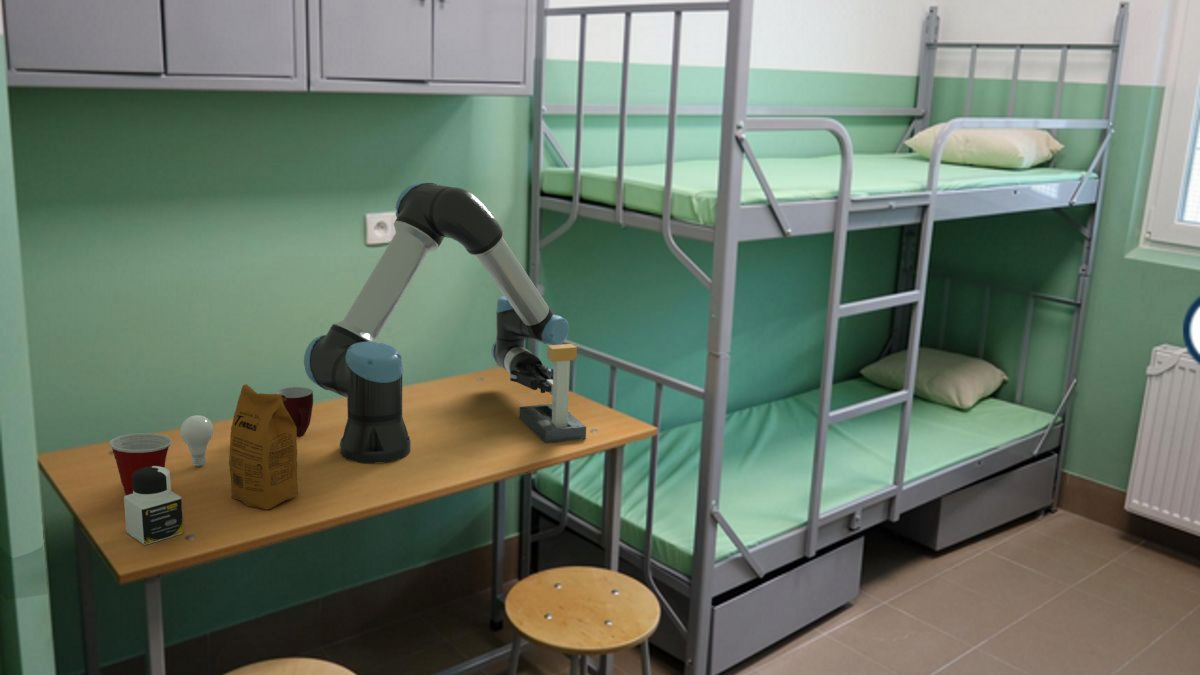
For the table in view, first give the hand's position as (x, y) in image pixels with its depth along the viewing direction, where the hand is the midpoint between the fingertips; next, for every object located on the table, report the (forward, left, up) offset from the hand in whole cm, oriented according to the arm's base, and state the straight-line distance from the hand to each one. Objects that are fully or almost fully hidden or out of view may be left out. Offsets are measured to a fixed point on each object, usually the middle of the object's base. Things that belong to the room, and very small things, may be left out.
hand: (559, 392), depth 237 cm
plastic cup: (-35, -83, -10) cm, 90 cm away
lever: (+1, -1, -8) cm, 8 cm away
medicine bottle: (-20, -90, -10) cm, 92 cm away
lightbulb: (-42, -67, -10) cm, 79 cm away
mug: (-42, -42, -10) cm, 60 cm away
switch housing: (-3, +1, -10) cm, 10 cm away
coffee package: (-19, -68, -10) cm, 71 cm away
